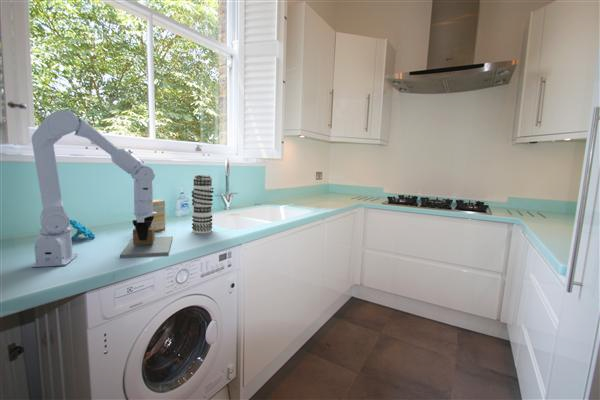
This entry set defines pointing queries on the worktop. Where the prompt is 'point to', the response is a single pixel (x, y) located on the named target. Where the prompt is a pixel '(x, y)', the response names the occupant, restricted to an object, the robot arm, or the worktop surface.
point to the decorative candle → (202, 204)
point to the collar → (149, 238)
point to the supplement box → (158, 215)
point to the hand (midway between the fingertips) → (144, 238)
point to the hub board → (148, 248)
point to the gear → (81, 230)
